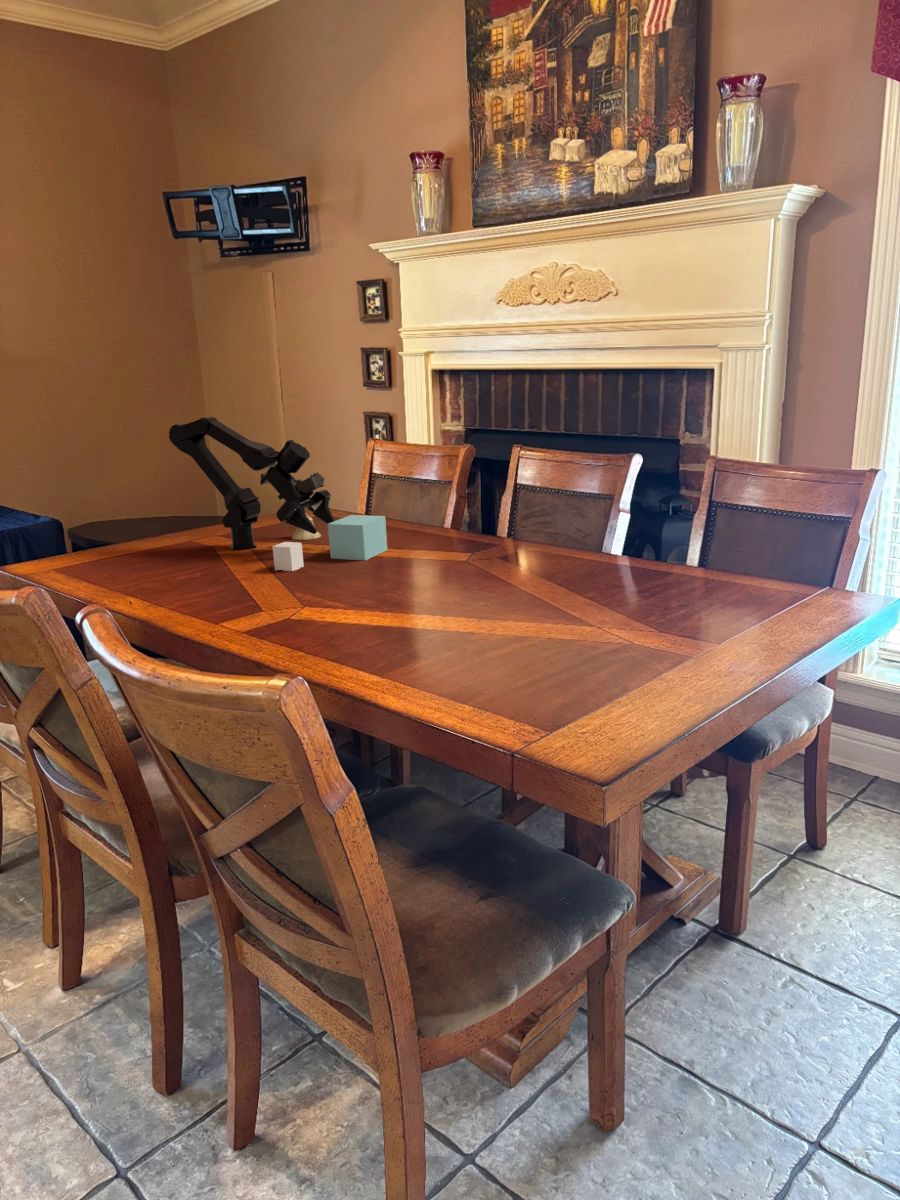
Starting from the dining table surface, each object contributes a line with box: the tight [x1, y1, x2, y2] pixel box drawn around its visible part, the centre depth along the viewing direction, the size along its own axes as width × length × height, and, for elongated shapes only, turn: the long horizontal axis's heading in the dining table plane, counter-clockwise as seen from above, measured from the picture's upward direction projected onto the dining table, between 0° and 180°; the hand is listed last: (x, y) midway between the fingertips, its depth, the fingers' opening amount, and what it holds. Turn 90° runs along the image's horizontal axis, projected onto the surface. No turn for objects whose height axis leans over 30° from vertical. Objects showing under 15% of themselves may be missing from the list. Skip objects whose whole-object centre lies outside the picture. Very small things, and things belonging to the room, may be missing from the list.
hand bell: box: [291, 508, 322, 541], centre depth 239 cm, size 8×8×16 cm
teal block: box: [327, 514, 388, 561], centre depth 217 cm, size 10×12×9 cm
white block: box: [271, 541, 305, 572], centre depth 206 cm, size 5×5×6 cm
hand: (325, 529), depth 221 cm, fingers open, 9 cm apart
